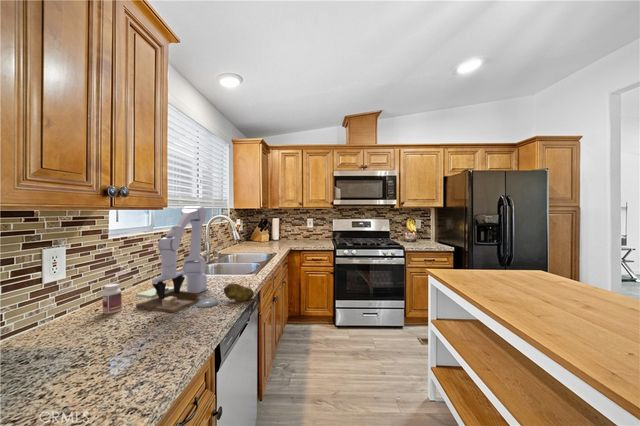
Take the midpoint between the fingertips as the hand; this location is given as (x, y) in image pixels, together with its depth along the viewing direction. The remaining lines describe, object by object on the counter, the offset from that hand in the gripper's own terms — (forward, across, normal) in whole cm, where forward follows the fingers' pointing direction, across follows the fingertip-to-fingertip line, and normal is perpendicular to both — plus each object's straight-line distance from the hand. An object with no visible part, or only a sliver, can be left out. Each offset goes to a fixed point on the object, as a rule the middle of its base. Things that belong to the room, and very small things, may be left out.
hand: (169, 296), depth 113 cm
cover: (0, -2, -10) cm, 10 cm away
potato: (+5, -16, +24) cm, 29 cm away
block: (+5, 0, 0) cm, 5 cm away
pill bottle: (+5, +11, -19) cm, 22 cm away
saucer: (+5, -8, +13) cm, 16 cm away
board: (+5, -3, -3) cm, 6 cm away
